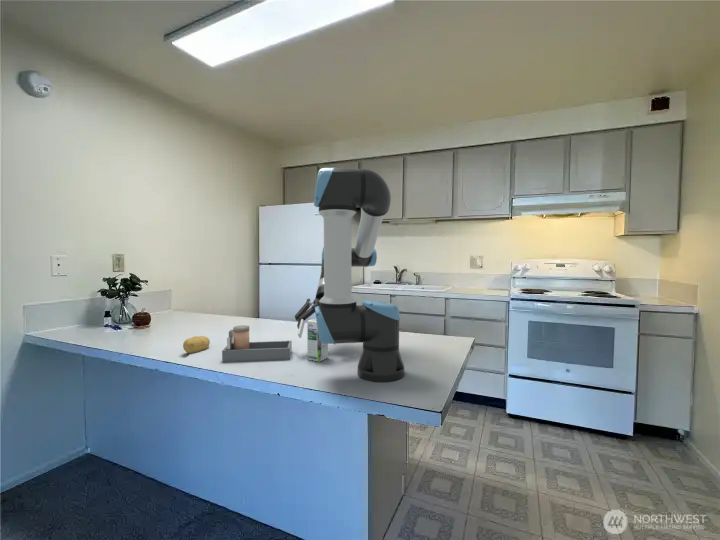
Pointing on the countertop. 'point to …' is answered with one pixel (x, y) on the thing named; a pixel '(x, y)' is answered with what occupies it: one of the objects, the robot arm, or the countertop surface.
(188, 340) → the potato
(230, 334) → the pusher
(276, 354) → the gray tray
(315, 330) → the syrup box
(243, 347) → the jar
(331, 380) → the countertop surface
